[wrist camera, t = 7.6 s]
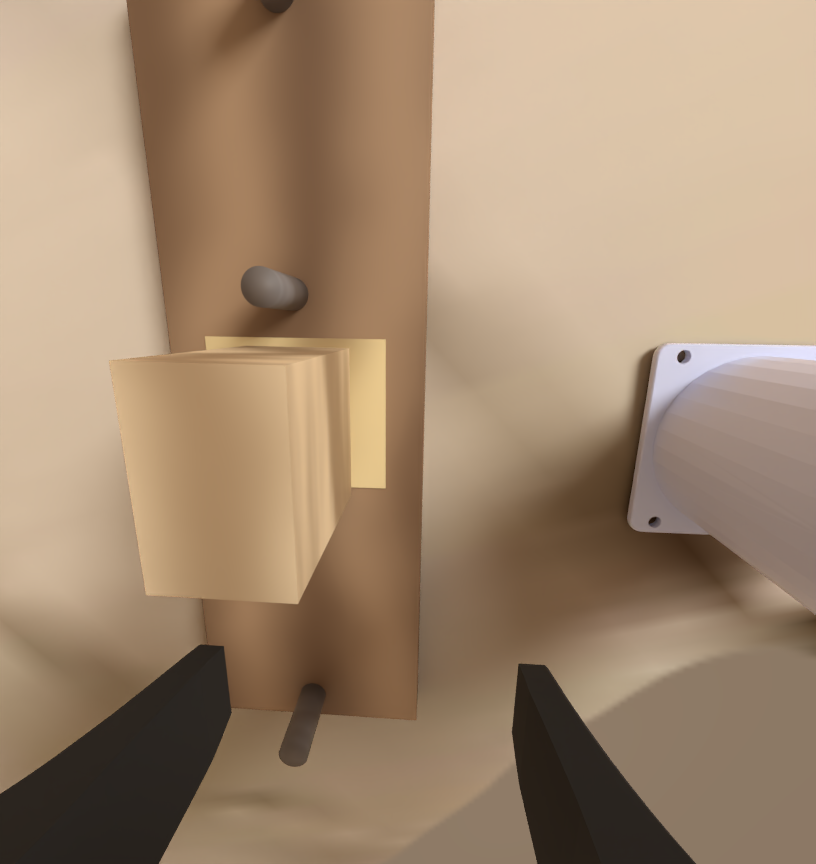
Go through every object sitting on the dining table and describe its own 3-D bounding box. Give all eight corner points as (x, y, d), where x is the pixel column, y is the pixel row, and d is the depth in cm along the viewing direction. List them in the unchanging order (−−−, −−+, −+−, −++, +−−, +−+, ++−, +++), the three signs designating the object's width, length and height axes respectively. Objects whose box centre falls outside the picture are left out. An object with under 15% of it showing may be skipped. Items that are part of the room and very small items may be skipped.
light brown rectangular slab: (349, 348, 16) (285, 365, 9) (351, 495, 17) (297, 603, 11) (242, 345, 16) (102, 360, 9) (253, 490, 18) (140, 594, 11)
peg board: (435, -24, 14) (435, -179, 10) (417, 693, 22) (413, 786, 17) (151, -15, 15) (31, -158, 10) (229, 681, 22) (179, 768, 18)
